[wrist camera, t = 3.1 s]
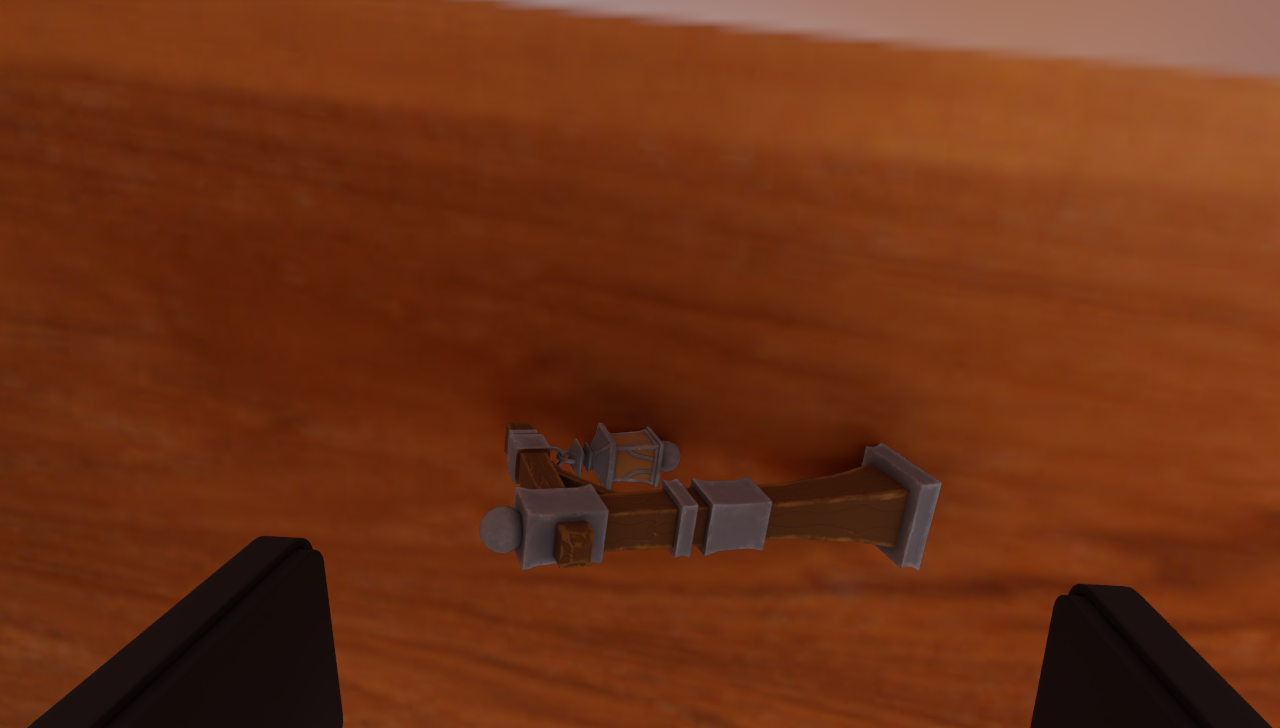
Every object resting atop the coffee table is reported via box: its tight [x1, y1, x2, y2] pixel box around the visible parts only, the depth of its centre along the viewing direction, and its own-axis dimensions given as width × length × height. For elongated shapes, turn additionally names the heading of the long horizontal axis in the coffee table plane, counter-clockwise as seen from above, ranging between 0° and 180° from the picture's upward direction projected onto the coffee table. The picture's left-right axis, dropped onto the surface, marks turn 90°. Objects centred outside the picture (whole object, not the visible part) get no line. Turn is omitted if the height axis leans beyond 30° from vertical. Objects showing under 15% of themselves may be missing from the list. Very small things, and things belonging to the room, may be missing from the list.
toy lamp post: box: [480, 423, 942, 570], centre depth 14 cm, size 2×8×4 cm, turn 83°
